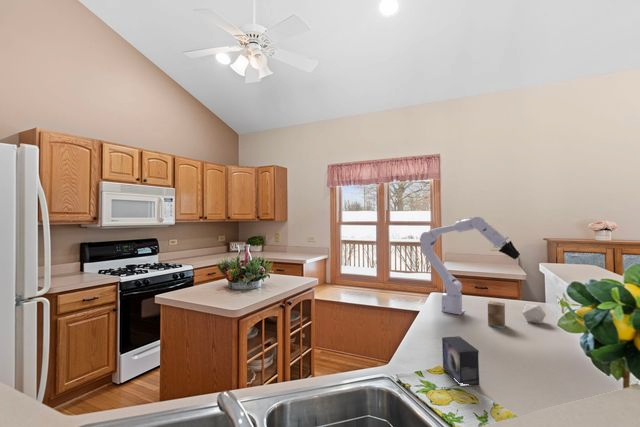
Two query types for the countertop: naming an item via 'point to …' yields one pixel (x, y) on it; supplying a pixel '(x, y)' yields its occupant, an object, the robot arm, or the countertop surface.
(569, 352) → the countertop surface
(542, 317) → the die
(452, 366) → the small box
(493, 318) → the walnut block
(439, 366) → the countertop surface
